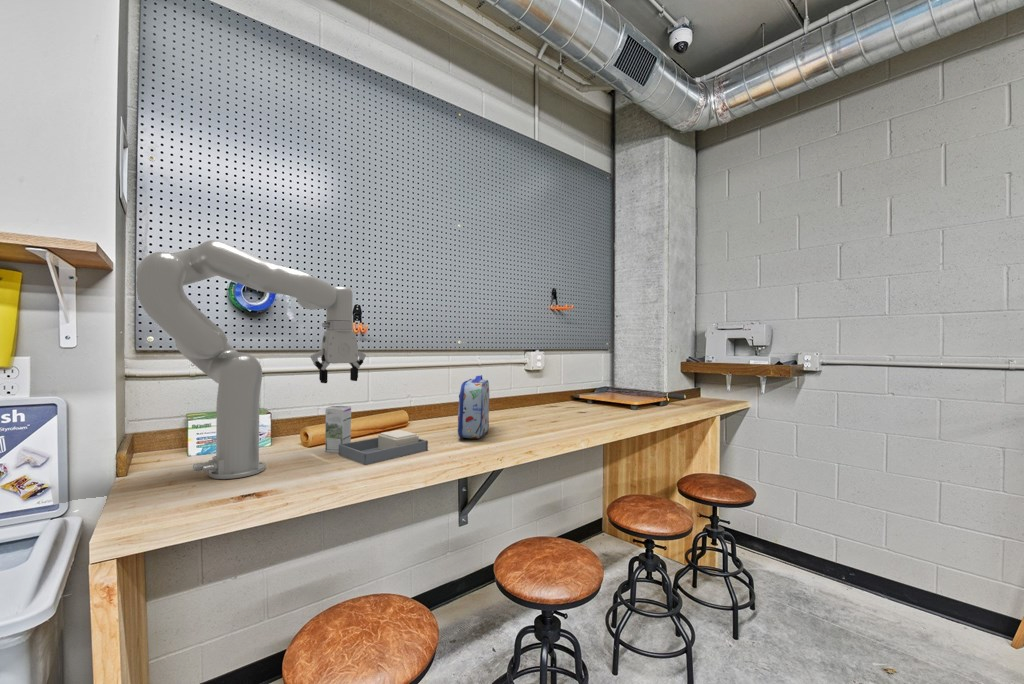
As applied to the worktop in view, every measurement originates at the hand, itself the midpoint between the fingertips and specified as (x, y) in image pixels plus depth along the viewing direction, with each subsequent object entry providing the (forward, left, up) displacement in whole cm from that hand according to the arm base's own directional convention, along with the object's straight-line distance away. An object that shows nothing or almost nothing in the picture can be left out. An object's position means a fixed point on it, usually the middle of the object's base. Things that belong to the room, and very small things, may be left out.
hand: (339, 381), depth 131 cm
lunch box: (+48, -11, -23) cm, 54 cm away
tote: (+8, -13, -22) cm, 27 cm away
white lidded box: (+13, -13, -21) cm, 28 cm away
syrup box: (0, 0, -22) cm, 22 cm away
